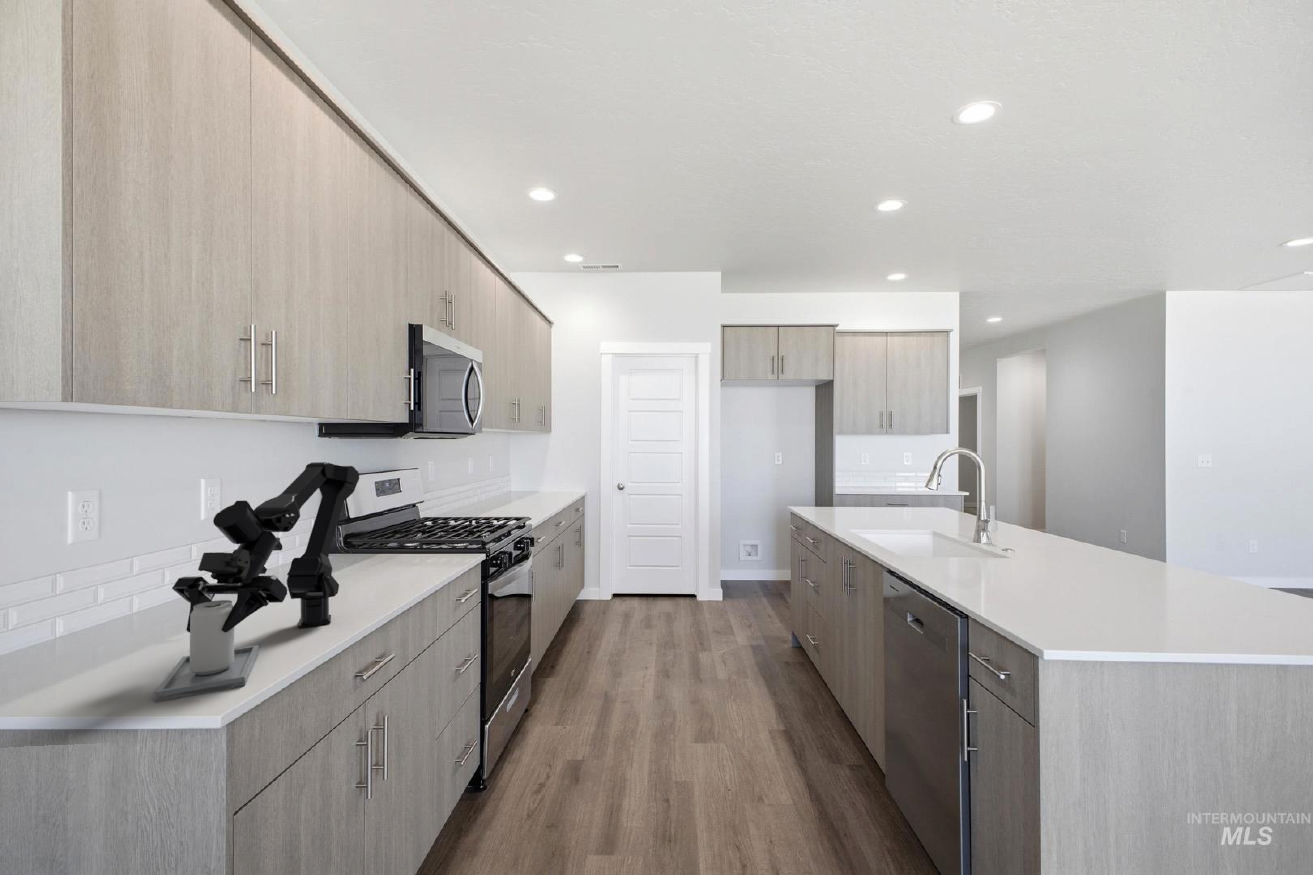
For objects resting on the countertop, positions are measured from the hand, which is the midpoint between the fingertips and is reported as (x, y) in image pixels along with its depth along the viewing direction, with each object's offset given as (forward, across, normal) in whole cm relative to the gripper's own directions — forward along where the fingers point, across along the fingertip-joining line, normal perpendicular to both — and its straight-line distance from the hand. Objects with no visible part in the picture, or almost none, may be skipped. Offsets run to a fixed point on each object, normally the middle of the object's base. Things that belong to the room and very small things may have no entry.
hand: (206, 631), depth 102 cm
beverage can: (+4, 0, +6) cm, 8 cm away
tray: (+5, 0, +7) cm, 8 cm away
